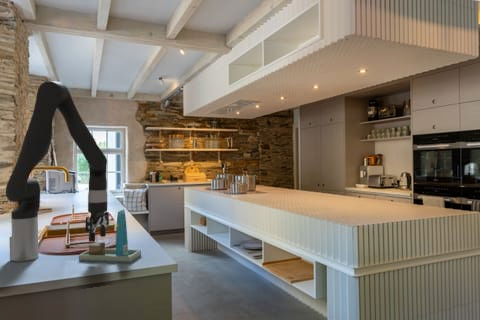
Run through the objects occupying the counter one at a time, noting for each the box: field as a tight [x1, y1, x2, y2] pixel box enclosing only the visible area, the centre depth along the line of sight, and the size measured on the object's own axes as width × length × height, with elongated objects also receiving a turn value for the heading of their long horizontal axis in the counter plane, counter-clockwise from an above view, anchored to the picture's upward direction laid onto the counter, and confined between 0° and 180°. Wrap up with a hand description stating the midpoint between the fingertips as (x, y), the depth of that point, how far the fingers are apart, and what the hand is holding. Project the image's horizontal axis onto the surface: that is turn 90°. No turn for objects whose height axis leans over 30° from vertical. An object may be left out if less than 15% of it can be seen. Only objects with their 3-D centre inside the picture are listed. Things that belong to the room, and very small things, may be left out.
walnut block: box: [88, 241, 106, 255], centre depth 142 cm, size 4×4×5 cm
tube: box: [115, 208, 129, 256], centre depth 140 cm, size 7×5×19 cm, turn 6°
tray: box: [78, 248, 142, 264], centre depth 141 cm, size 22×10×2 cm, turn 82°
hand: (97, 238), depth 143 cm, fingers open, 8 cm apart
